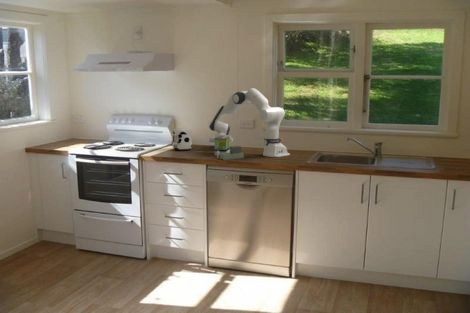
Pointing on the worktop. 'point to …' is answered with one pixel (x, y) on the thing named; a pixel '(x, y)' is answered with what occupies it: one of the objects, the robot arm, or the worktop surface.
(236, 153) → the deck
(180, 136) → the milk container
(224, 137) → the tea box
